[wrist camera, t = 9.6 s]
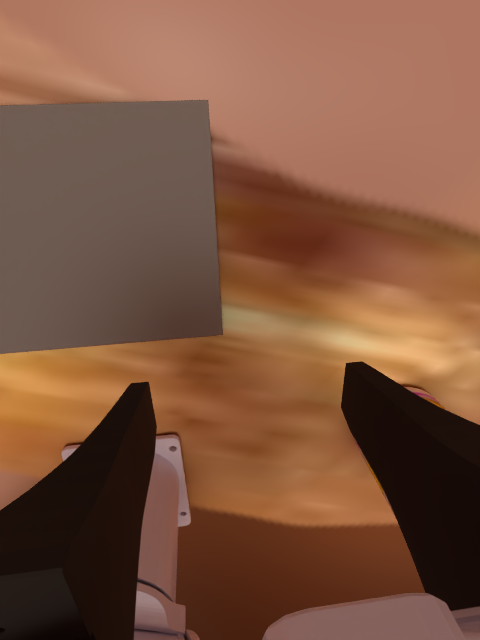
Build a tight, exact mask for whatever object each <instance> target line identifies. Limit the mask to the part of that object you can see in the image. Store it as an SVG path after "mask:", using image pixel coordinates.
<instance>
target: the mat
mask: <svg viewBox="0 0 480 640" xmlns="http://www.w3.org/2000/svg"><path fill="white" fill-rule="evenodd" d="M208 107H209V106H208V100H189V101H188V100H187V101H150V102H113V103H77V104H40V105H3V106H0V354H5V353H16V352H28V351H40V350H52V349H63V348H75V347H87V346H99V345H110V344H122V343H134V342H145V341H157V340H169V339H181V338H192V337H204V336H216V335H223V329H222V313H221V297H220V281H219V265H218V249H217V233H216V217H215V201H214V185H213V169H212V153H211V137H210V122H209V108H208Z"/></svg>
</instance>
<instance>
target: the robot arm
mask: <svg viewBox="0 0 480 640" xmlns="http://www.w3.org/2000/svg"><path fill="white" fill-rule="evenodd" d="M341 408H342V411H343V414H344V416H345V419H346V421H347V424H348V426H349V429H350V431H351V433H352V435H353V437H354V438H355V440H356V442H357V444H358V446H359V447H360V449H361V451H362V453H363V454H364V456H365V458H366V460H367V461H368V463H369V465H370V467H371V469H372V470H373V472H374V474H375V476H376V477H377V479H378V481H379V483H380V485H381V486H382V488H383V490H384V492H385V494H386V496H387V499H388V501H389V503H390V505H391V508H392V510H393V512H394V515H395V517H396V519H397V521H398V524H399V526H400V529H401V531H402V533H403V536H404V538H405V541H406V543H407V546H408V548H409V550H410V552H411V555H412V558H413V561H414V563H415V566H416V569H417V571H418V574H419V576H420V579H421V582H422V584H423V587H424V590H425V593H406V594H399V595H393V596H387V597H380V598H374V599H367V600H362V601H355V602H348V603H342V604H335V605H330V606H323V607H316V608H310V609H305V610H302V611H298V612H295V613H292V614H288V615H285V616H283V617H282V618H281V619H279V620H278V621H276V622H275V623H273V624H272V625H270V626H269V628H268V629H267V631H266V632H265V634H264V637H263V639H262V640H480V425H478V424H476V423H473V422H471V421H468V420H466V419H464V418H462V417H460V416H457V415H455V414H453V413H451V412H449V411H447V410H445V409H443V408H441V407H439V406H437V405H435V404H433V403H431V402H429V401H427V400H426V399H424V398H422V397H420V396H418V395H417V394H415V393H413V392H411V391H410V390H408V389H406V388H405V387H403V386H401V385H400V384H398V383H396V382H395V381H393V380H392V379H390V378H388V377H387V376H385V375H384V374H382V373H380V372H379V371H377V370H376V369H374V368H372V367H371V366H369V365H367V364H366V363H364V362H352V363H346V367H345V376H344V385H343V394H342V402H341ZM156 428H157V426H156V420H155V415H154V409H153V403H152V398H151V392H150V387H149V382H141V383H131V384H130V385H129V386H128V388H127V389H126V390H125V392H124V393H123V394H122V396H121V397H120V398H119V400H118V401H117V402H116V404H115V405H114V406H113V408H112V409H111V410H110V411H109V413H108V414H107V415H106V416H105V418H104V419H103V420H102V421H101V423H100V424H99V425H98V426H97V427H96V428H95V429H94V431H93V432H92V433H91V434H90V435H89V436H88V437H87V438H86V439H85V441H84V442H83V443H82V444H80V445H71V446H66V447H64V448H63V450H62V453H61V455H62V458H63V462H62V463H61V464H60V465H59V466H58V467H57V468H55V469H54V470H53V471H52V472H51V473H49V474H48V475H47V476H46V477H44V478H43V479H42V480H41V481H40V482H38V483H37V484H36V485H35V486H33V487H32V488H31V489H30V490H28V491H27V492H26V493H24V494H23V495H21V496H20V497H19V498H17V499H16V500H15V501H13V502H12V503H10V504H9V505H7V506H6V507H4V508H3V509H2V510H0V640H199V637H198V636H197V635H196V633H195V632H193V631H191V630H185V606H183V605H179V604H176V603H175V594H176V570H177V544H178V527H179V526H186V525H188V524H190V522H191V515H190V508H189V501H188V494H187V487H186V480H185V473H184V466H183V459H182V452H181V446H180V439H179V437H178V436H177V435H163V436H156ZM171 446H175V447H171Z"/></svg>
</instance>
